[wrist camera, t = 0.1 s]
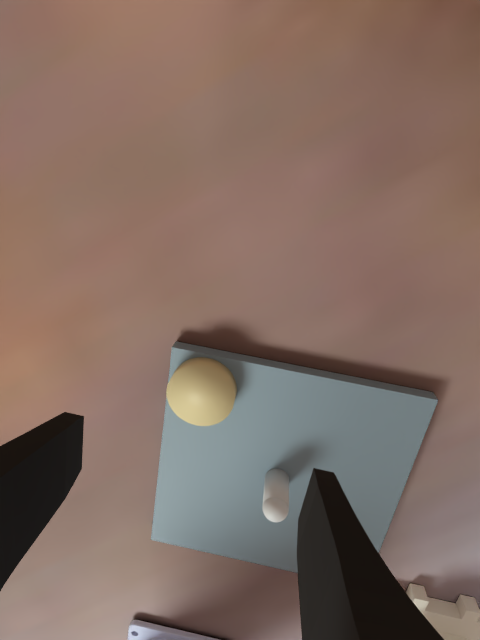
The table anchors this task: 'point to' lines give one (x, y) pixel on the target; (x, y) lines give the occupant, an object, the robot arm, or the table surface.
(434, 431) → the table surface
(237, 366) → the carrier plate
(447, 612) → the gear
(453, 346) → the table surface
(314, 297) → the table surface
